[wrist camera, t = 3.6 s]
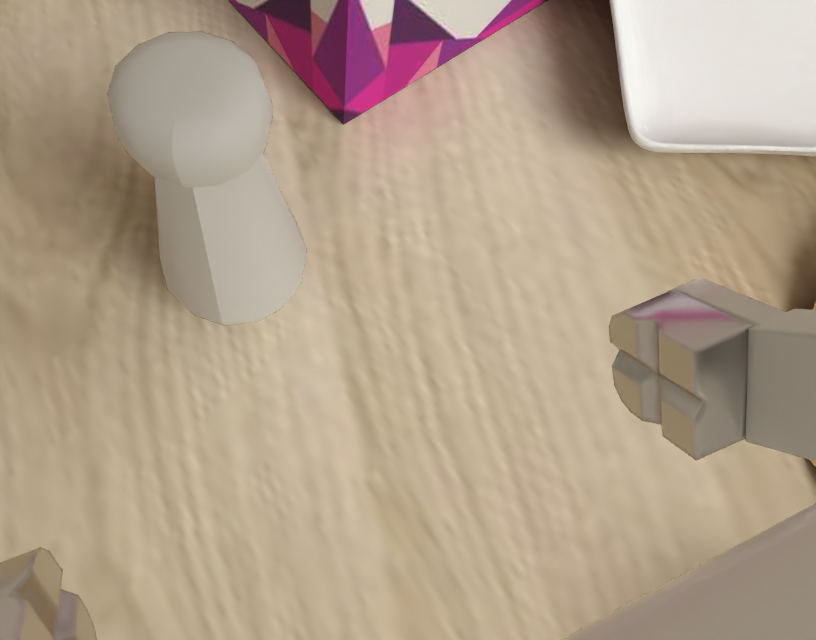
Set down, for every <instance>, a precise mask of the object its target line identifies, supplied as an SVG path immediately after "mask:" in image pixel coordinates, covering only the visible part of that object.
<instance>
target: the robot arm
mask: <svg viewBox="0 0 816 640" xmlns="http://www.w3.org/2000/svg"><path fill="white" fill-rule="evenodd" d="M609 335H610V342H611V343H612V344H613V345H614V346H616V347H617V348H618V349H619V352H618V354H617V356H616V359H615V361H614V363H613V365H612V371H613V379H614V386H615V388H616V390H617V392H618V394H619V396H620V399H621V401H622V402H623V403H624V405H625V406H626V407H627V408H628V410H629V411H630V412H631V413H633V414H634V415H635V416H636V417H638V418H639V419H640V420H642V421H646V422H651V423H656V424H661V427H662V434H663V437H665V438H666V439H667V440H669V441H670V442H671V443H673V444H674V445H676V446H677V447H678V448H680V449H681V450H682V451H684V452H685V453H687V454H688V455H689V456H691V457H692V458H693V459H695V460H698V459H700V458H703V457H705V456H707V455H709V454H712V453H714V452H716V451H718V450H720V449H723V448H725V447H727V446H729V445H732V444H734V443H736V442H738V441H740V440H743V439H745V438H746V441H747V442H750V443H754V444H757V445H761V446H764V447H768V448H771V449H775V450H778V451H782V452H785V453H789V454H792V455H796V456H799V457H802V458H806V459H809V460H813V461H816V310H807V309H793V310H790V311H788V312H784V311H782V310H779V309H777V308H774V307H772V306H770V305H767V304H765V303H762V302H760V301H757V300H755V299H752V298H750V297H747V296H745V295H742V294H740V293H738V292H735V291H733V290H730V289H728V288H725V287H723V286H720V285H718V284H715V283H713V282H711V281H708V280H706V279H694V280H692V281H689V282H687V283H685V284H683V285H681V286H678V287H676V288H674V289H672V290H669V291H667V292H666V293H664V294H662V295H659V296H657V297H655V298H652V299H650V300H648V301H645V302H643V303H641V304H638V305H636V306H634V307H631V308H629V309H627V310H624V311H622V312H620V313H617V314H615V315H613V316H612V317H611V321H610V325H609ZM62 571H63V570H62V568H61V567H60V565H59V564H58V562H57V561H56V560H55V558H54V557H53V555H52V554H51V552H50V551H48V550H46V549H43V548H41V547H40V548H37V549H35V550H32V551H29V552H27V553H24V554H22V555H19V556H16V557H14V558H11V559H9V560H6V561H3V562H1V563H0V640H97V638H96V633H95V628H94V625H93V622H92V620H91V617H90V615H89V612H88V610H87V608H86V606H85V605H84V603H83V602H82V600H81V598H80V597H79V595H77V594H74V593H71V592H68V591H65V590H62V589H61V581H62ZM561 640H816V503H815V504H813V505H811V506H810V507H808V508H806V509H804V510H802V511H800V512H798V513H796V514H795V515H793V516H791V517H789V518H787V519H785V520H783V521H782V522H780V523H778V524H776V525H774V526H772V527H770V528H768V529H767V530H765V531H763V532H761V533H759V534H757V535H755V536H753V537H752V538H750V539H748V540H746V541H744V542H742V543H740V544H738V545H737V546H735V547H733V548H731V549H729V550H727V551H725V552H723V553H722V554H720V555H718V556H716V557H714V558H712V559H710V560H708V561H707V562H705V563H703V564H701V565H699V566H697V567H695V568H694V569H692V570H690V571H688V572H686V573H684V574H682V575H680V576H679V577H677V578H675V579H673V580H671V581H669V582H667V583H665V584H664V585H662V586H660V587H658V588H656V589H654V590H652V591H650V592H649V593H647V594H645V595H643V596H641V597H639V598H637V599H635V600H634V601H632V602H630V603H628V604H626V605H624V606H622V607H621V608H619V609H617V610H615V611H613V612H611V613H609V614H607V615H606V616H604V617H602V618H600V619H598V620H596V621H594V622H593V623H591V624H589V625H587V626H585V627H583V628H581V629H579V630H578V631H576V632H574V633H572V634H570V635H568V636H566V637H565V638H563V639H561Z"/></svg>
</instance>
